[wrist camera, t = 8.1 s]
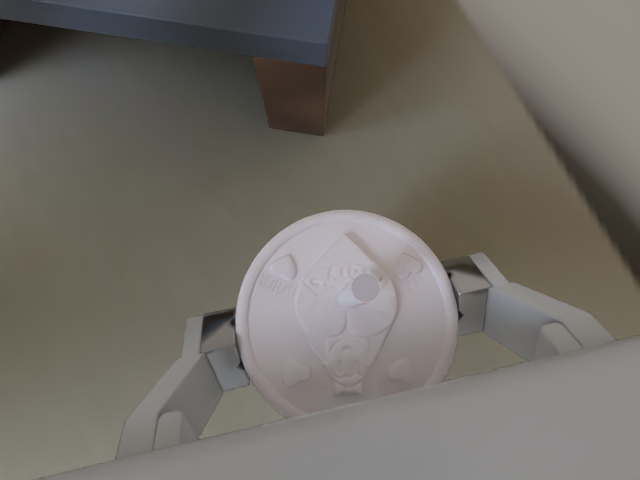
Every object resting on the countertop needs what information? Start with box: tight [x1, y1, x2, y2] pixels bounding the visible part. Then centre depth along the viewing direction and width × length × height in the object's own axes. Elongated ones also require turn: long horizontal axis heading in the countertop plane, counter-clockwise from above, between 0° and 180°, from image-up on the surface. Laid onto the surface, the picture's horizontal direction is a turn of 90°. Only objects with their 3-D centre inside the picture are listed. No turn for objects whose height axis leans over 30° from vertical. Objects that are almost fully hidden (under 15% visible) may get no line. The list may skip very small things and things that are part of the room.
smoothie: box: [235, 210, 459, 419], centre depth 14 cm, size 6×6×14 cm
